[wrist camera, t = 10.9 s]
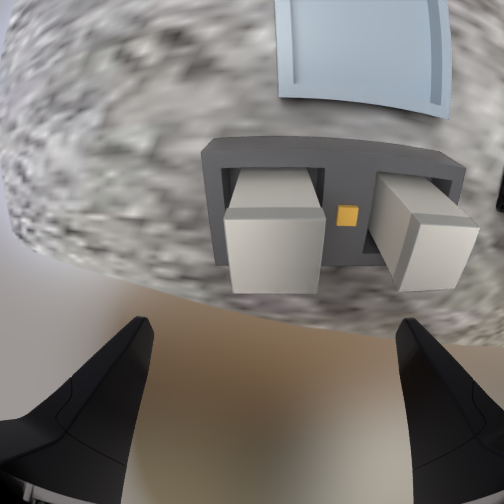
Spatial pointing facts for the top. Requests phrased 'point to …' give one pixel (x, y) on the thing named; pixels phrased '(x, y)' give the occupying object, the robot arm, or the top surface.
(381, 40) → the tray
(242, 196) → the plug
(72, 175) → the top surface
